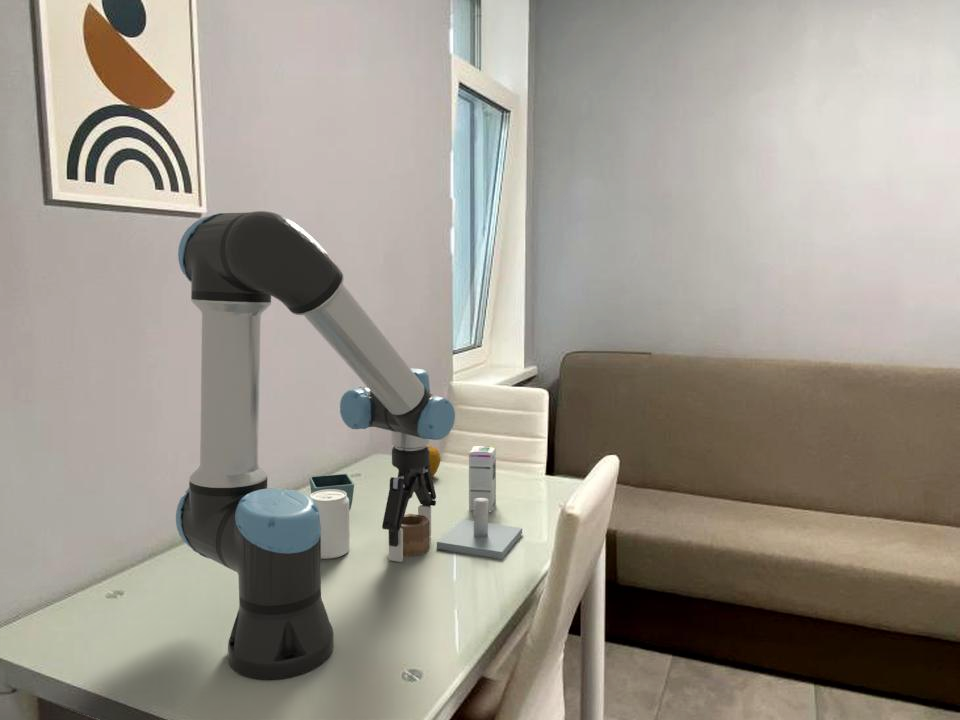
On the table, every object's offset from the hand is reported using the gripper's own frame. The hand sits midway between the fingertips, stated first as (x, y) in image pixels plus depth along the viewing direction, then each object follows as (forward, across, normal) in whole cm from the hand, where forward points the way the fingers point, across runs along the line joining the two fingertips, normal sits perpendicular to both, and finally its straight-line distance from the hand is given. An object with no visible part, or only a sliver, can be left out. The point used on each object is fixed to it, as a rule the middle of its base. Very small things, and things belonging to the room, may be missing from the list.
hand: (410, 547), depth 144 cm
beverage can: (0, -8, +14) cm, 16 cm away
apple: (+1, +46, +18) cm, 49 cm away
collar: (0, 0, 0) cm, 0 cm away
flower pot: (0, +9, +24) cm, 26 cm away
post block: (0, +9, -12) cm, 15 cm away
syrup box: (+1, +29, -5) cm, 29 cm away
